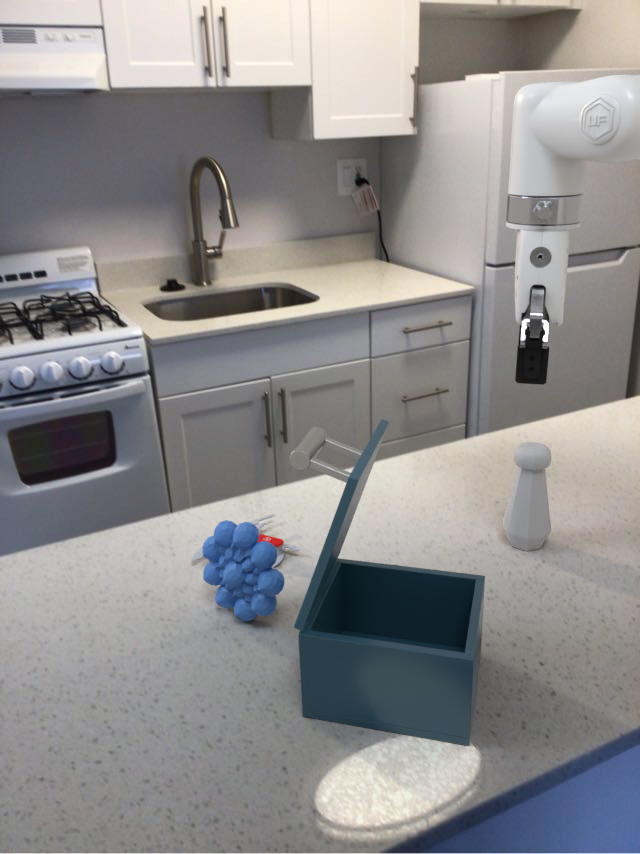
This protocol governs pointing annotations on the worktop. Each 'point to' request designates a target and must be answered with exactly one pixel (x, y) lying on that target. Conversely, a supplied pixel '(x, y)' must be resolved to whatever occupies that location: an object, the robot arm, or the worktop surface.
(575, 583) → the worktop surface
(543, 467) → the salt shaker
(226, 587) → the grapes
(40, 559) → the worktop surface
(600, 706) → the worktop surface
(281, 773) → the worktop surface
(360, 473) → the lid
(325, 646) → the teal box
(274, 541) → the swiss army knife
